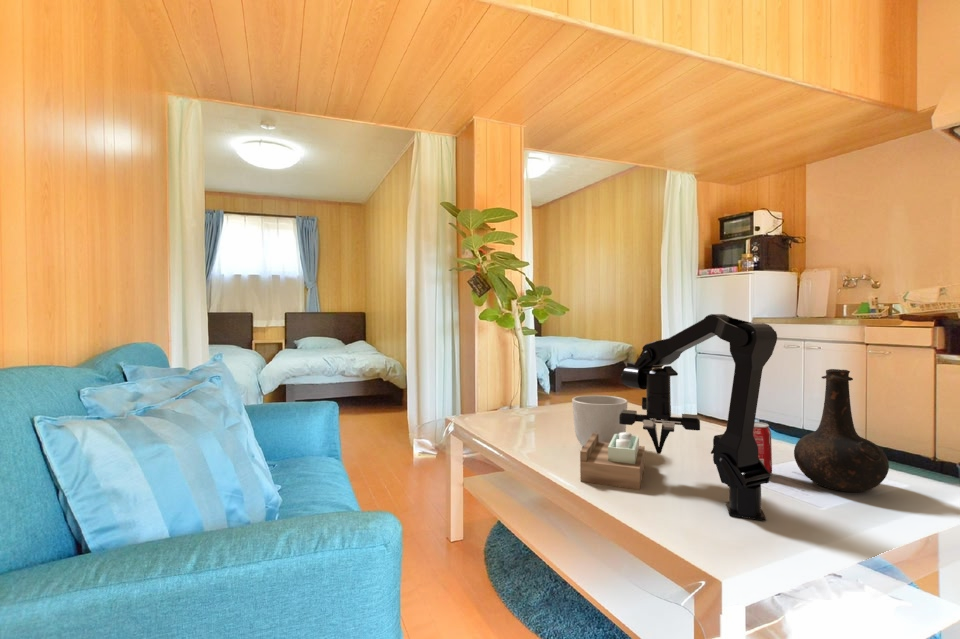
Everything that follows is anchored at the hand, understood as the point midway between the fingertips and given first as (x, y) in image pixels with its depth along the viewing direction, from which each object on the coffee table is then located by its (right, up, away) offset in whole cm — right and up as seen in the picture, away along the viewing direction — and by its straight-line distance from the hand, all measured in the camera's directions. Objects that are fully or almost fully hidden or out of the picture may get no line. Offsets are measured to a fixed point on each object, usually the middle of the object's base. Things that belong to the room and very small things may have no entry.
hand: (658, 453), depth 113 cm
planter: (-8, -7, +27) cm, 29 cm away
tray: (-8, -1, +3) cm, 9 cm away
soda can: (+26, -6, +3) cm, 27 cm away
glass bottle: (+41, -6, -6) cm, 42 cm away
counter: (-10, -6, +4) cm, 13 cm away
